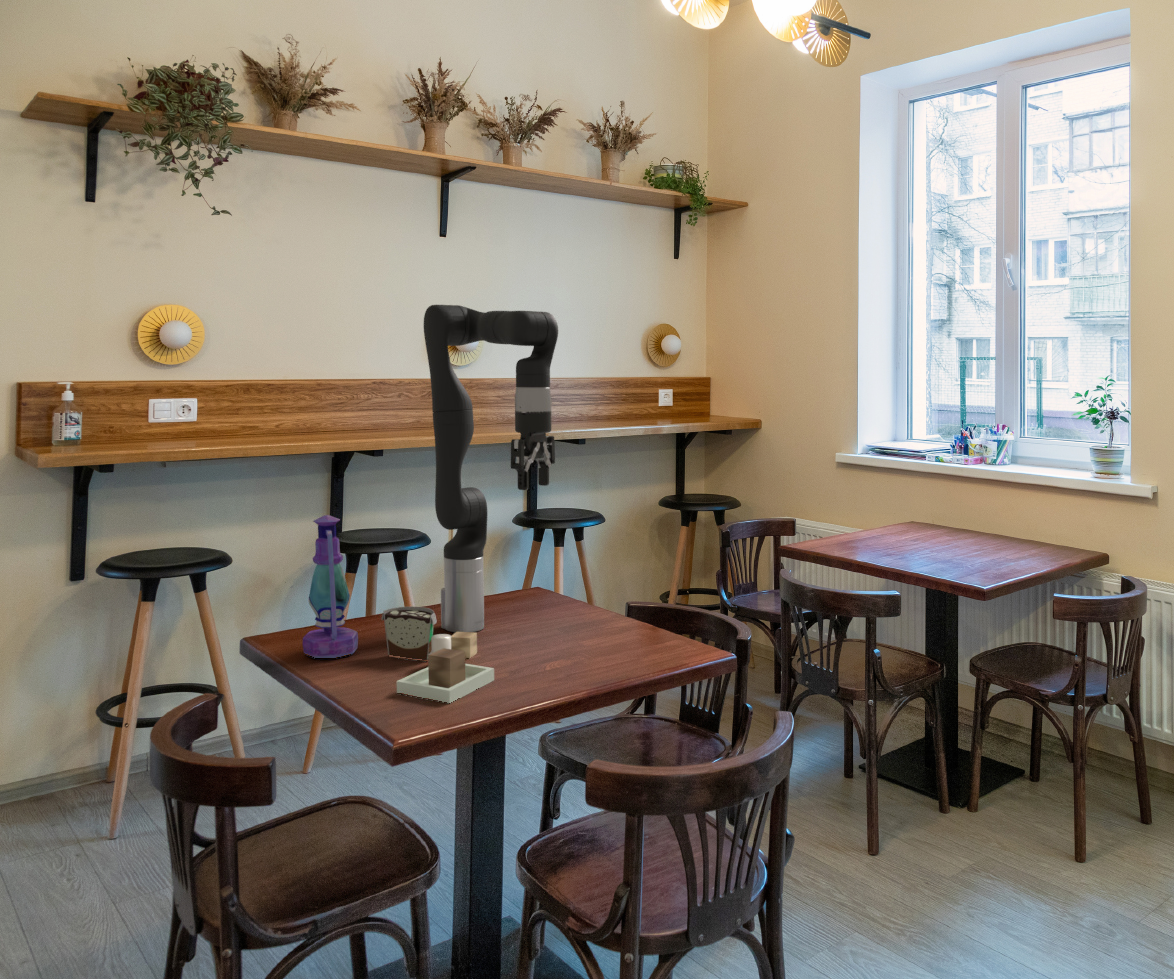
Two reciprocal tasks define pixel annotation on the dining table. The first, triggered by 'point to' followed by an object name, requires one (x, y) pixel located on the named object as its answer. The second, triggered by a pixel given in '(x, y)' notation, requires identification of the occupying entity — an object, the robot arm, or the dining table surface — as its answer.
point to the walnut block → (446, 667)
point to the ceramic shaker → (440, 642)
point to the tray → (421, 688)
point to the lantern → (329, 597)
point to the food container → (409, 631)
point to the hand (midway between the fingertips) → (533, 487)
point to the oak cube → (465, 643)
